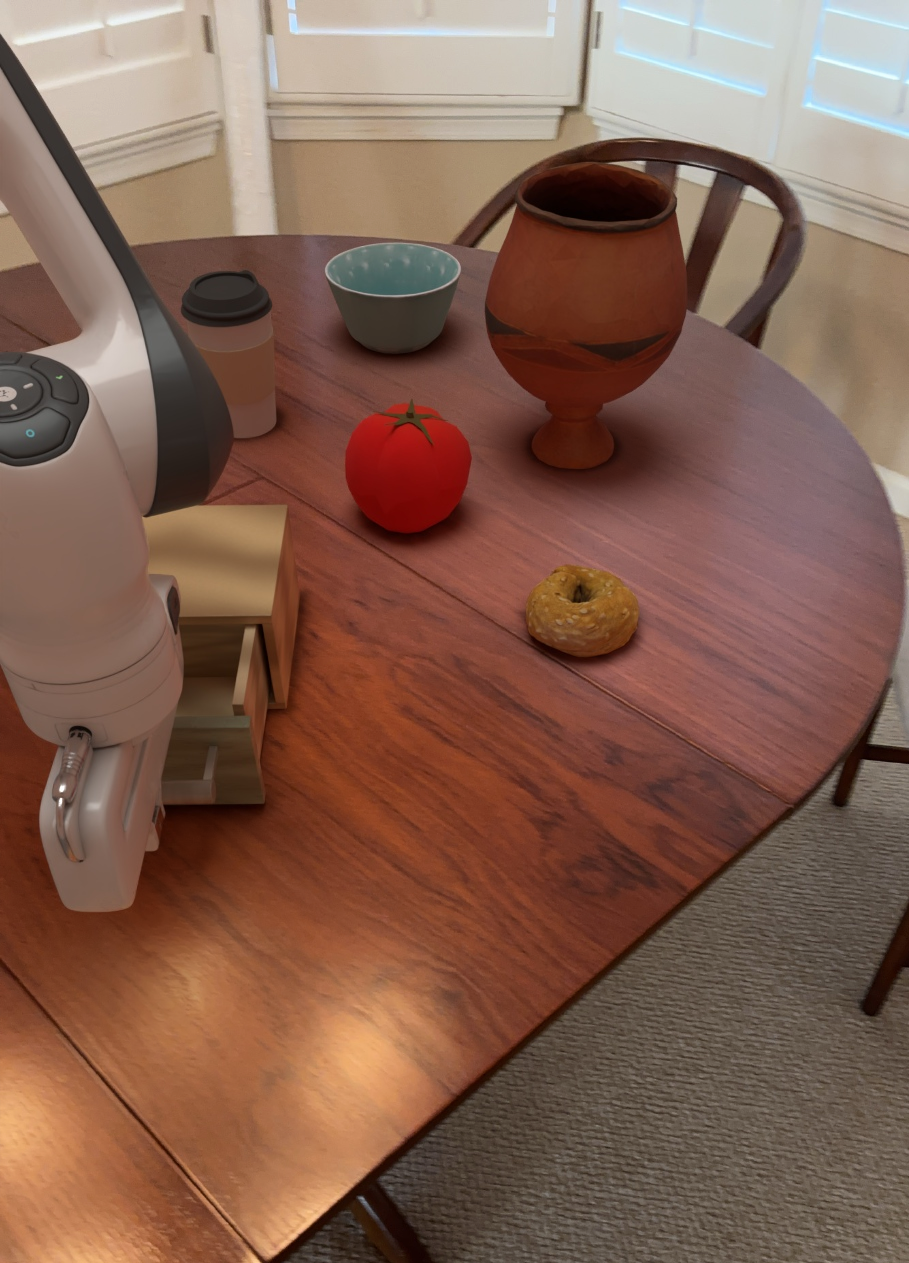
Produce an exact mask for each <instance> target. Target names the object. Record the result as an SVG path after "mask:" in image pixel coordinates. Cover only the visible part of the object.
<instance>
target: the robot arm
mask: <svg viewBox="0 0 909 1263" xmlns="http://www.w3.org/2000/svg"><path fill="white" fill-rule="evenodd" d="M0 201H1V203H2V204H3V206H4V207H5V208H6V210H7V211H8V212H9V215H10V216H11V217H12V219H13V221H14V222H15V224H16V226H17V228H18V229H19V231H20V232H21V234H22V235H23V237H24V239H25V241H26V242H27V244H28V245H29V247H30V249H31V250H32V252H33V253H34V255H35V257H36V258H37V260H38V262H39V263H40V265H41V266H42V268H43V270H44V271H45V273H46V274H47V277H48V278H49V280H50V281H51V283H52V285H53V286H54V288H55V289H56V291H57V293H58V294H59V296H60V298H61V299H62V301H63V303H64V304H65V306H66V307H67V309H68V311H69V312H70V314H71V315H72V317H73V318H74V320H75V322H76V323H77V325H78V327H79V329H80V330H81V332H80V334H79V335H78V336H76V337H75V338H73V339H70V340H68V341H64V342H60V343H58V344H52V345H49V346H45V347H42V348H38V349H34V350H30V351H27V352H22V351H0V667H1V669H2V672H3V674H4V677H5V680H6V681H7V684H8V686H9V689H10V691H11V694H12V696H13V699H14V701H15V703H16V706H17V708H18V711H19V713H20V715H21V718H22V720H23V722H24V724H25V725H26V726H27V728H28V729H29V730H30V731H31V732H32V733H34V735H36V736H37V737H39V738H41V739H42V740H44V741H47V742H49V743H51V744H54V745H57V749H56V752H55V756H54V758H53V762H52V766H51V768H50V772H49V774H48V778H47V781H46V784H45V787H44V790H43V793H42V797H41V801H40V806H39V814H38V822H39V823H38V824H39V833H40V839H41V843H42V848H43V851H44V855H45V858H46V861H47V865H48V867H49V871H50V874H51V877H52V880H53V882H54V885H55V888H56V891H57V893H58V896H59V898H60V900H61V902H62V904H63V906H64V907H65V908H66V909H68V910H70V911H73V912H78V913H79V912H81V913H82V912H83V913H109V912H110V913H111V912H117V911H122V910H127V909H129V908H130V907H132V905H133V904H134V901H135V899H136V895H137V889H138V885H139V880H140V876H141V872H142V866H143V863H144V858H145V853H146V852H155V851H157V850H158V849H159V846H160V841H161V835H162V831H163V825H164V821H165V817H166V810H165V807H164V806H165V805H163V803H162V800H161V797H162V796H161V777H162V773H163V768H164V764H165V759H166V755H167V750H168V746H169V741H170V737H171V732H172V728H173V723H174V719H175V714H176V710H177V705H178V701H179V698H180V695H181V692H182V685H183V676H184V658H183V650H182V643H181V636H180V630H179V624H178V620H179V614H180V605H181V596H180V591H179V587H178V583H177V580H176V578H175V576H173V575H164V574H148V564H149V543H148V538H147V534H146V530H145V526H144V522H143V519H142V516H143V517H145V518H147V517H151V516H155V515H159V514H164V513H168V512H172V511H176V510H180V509H184V508H189V507H193V506H202V505H203V503H204V502H205V501H206V500H207V499H208V498H209V496H210V495H211V493H212V492H213V490H214V489H215V487H216V486H217V483H218V482H219V481H220V478H221V476H222V475H223V472H224V471H225V468H226V465H227V464H228V461H229V458H230V456H231V453H232V449H233V446H234V440H235V438H234V433H233V425H232V420H231V417H230V413H229V410H228V407H227V404H226V401H225V398H224V396H223V394H222V391H221V389H220V387H219V385H218V383H217V381H216V379H215V377H214V375H213V373H212V371H211V370H210V368H209V366H208V364H207V363H206V361H205V360H204V358H203V356H202V355H201V353H200V352H199V350H198V349H197V348H196V346H195V345H194V343H193V342H192V340H191V339H190V338H189V336H188V333H187V332H186V331H185V329H184V328H183V327H182V325H181V324H180V322H179V321H178V320H177V319H176V317H175V315H174V314H173V313H172V312H171V311H170V309H169V308H168V306H167V305H166V303H165V302H164V300H163V299H162V297H161V296H160V295H159V294H160V293H158V291H157V290H156V288H155V286H154V285H153V283H152V282H151V280H150V278H149V276H148V274H147V273H146V271H145V269H144V268H143V266H142V264H141V263H140V261H139V260H138V258H137V256H136V253H134V251H133V249H132V247H131V246H130V244H129V242H128V240H127V239H126V237H125V236H124V234H123V232H122V231H121V230H122V229H121V228H120V227H119V225H118V223H117V222H116V220H115V219H114V216H113V215H112V214H111V211H110V209H109V208H108V206H107V205H106V203H105V201H104V200H103V198H102V196H101V194H100V192H99V190H98V189H97V188H96V186H95V184H94V182H93V181H92V179H91V177H90V175H89V174H88V172H87V170H86V168H85V167H84V165H83V163H82V161H81V160H80V158H79V156H78V155H77V152H76V151H75V150H74V148H73V146H72V145H71V142H70V141H69V139H68V138H67V136H66V135H65V133H64V131H63V129H62V127H61V125H60V124H59V123H58V120H57V119H56V117H55V116H54V114H53V112H52V111H51V109H50V108H49V106H48V105H47V103H46V101H45V99H44V98H43V96H42V95H41V92H40V91H39V89H38V88H37V86H36V84H35V83H34V81H33V80H32V78H31V76H30V75H29V73H28V72H27V70H26V69H25V66H23V64H22V62H21V61H20V59H19V58H18V56H17V55H16V54H15V52H14V51H13V49H12V47H11V46H10V44H9V43H8V41H7V40H6V39H5V38H4V36H3V34H2V33H0Z"/></svg>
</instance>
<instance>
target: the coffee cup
mask: <svg viewBox="0 0 909 1263" xmlns="http://www.w3.org/2000/svg"><path fill="white" fill-rule="evenodd" d="M181 303H182V304H181V306H180V314H181V316H182V317H183V318H184V321H185V324H186V327H187V328H186V329H187V335H188V336H189V338H190V339H191V340H192V342H193V343H194V345H195V346H196V348H197V349H198V350H199V352H200V353H201V355H202V356H203V358H204V360H205V361H206V363H207V364H208V366H209V368H210V370H211V371H212V373H213V375H214V377H215V379H216V381H217V383H218V385H219V387H220V389H221V391H222V394H223V396H224V398H225V401H226V404H227V407H228V410H229V413H230V417H231V420H232V425H233V433H234V439H250V438H256V437H260V436H263V435H265V434H266V433H267V434H268V432H270V431H272V430H273V428H274V427H275V426H276V424H277V404H276V387H277V386H276V384H277V383H276V361H275V357H276V356H275V338H274V336H275V335H274V327H273V325H272V309H273V300H272V299H271V297H270V293H269V291H268V289H266V288H265V287H264V286H263V285H262V284H260V283H259V281H258V279H257V277H256V275H255V274H254V273H253V272H252V271H250V270H249V269H243V270H240V271H235V270H218V271H212V272H207V273H204V274H202V275H199V276H197V277H196V278H194V279H192V281H191V282H190V284H189V287H188V288H187V289H186V291H185V292H184V293H183V294H182V297H181Z"/></svg>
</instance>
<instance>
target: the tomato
mask: <svg viewBox="0 0 909 1263" xmlns="http://www.w3.org/2000/svg"><path fill="white" fill-rule="evenodd" d="M413 399H414V398H413V397H411V399H410V401H409V403H408V402H407V403H406V402H404V403H397V404H396V403H395V404H392V405H391V406H390V407H389V408H387V409H386V410H385V411H383V412H382V411H376V410H372V412H373V414H371V415H369V416H367V417H365V418H364V419H362V420H361V421H360V422H359V423H358V424H357V426H356V427H355V429H354V430H353V432H352V433H351V435H350V438H349V440H348V443H347V446H346V449H345V452H344V453H345V456H344V457H345V458H344V472H345V473H344V474H345V480H346V485H347V488H348V490H349V493H350V494H351V496H352V498H353V500H354V502H355V504H356V505H357V506H358V507H359V509H360V510H361V512H363V513H364V515H365V516H366V517H367V519H369V520H370V521H372V522H374V524H377V525H379V526H380V527H382V528H383V529H385V530H386V531H389V532H395V533H400V534H413V533H421V532H423V531H425V530H428V529H429V528H431V527H433V526H435V525H437V524H438V523H441V522H443V521H444V520H446V519H447V518H448V517H449V516H450V514H451V513H452V512H453V511H454V510H455V508H456V507H457V506H458V505H459V503H460V502H461V500H462V497H463V495H464V492H465V490H466V488H467V485H468V483H469V477H470V471H471V465H472V460H473V457H472V452H471V447H470V442H469V440H468V439H467V438H466V436H465V435H464V434H463V433H462V431H461V430H460V429H459V427H458V426H457V425H455V424H452V423H451V422H449V420H448V419H444V418H443V416H442V415H441V414H440V412H438V411H437V410H436V409H434V408H432V407H430V406H424V405H418V404H415V403H414V400H413Z"/></svg>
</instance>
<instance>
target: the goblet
mask: <svg viewBox="0 0 909 1263" xmlns="http://www.w3.org/2000/svg"><path fill="white" fill-rule="evenodd" d="M514 202H515V204H516V205H515V208H514V209H515V210H514V212H513V216H512V218H511V223H510V225H509V227H508V230H507V233H506V236H505V239H504V241H503V242H502V245H501V247H500V249H499V251H498V254H497V256H496V259H495V263H494V265H493V268H492V271H491V274H490V277H489V281H488V284H487V290H486V295H485V300H484V320H485V328H486V333H487V337H488V340H489V343H490V346H491V349H492V352H494V354H495V356H496V357H497V360H498V361H499V362H500V364H501V366H502V367H503V369H504V370H505V371H506V373H507V374H508V375H509V376H510V377H511V378H512V379H513V381H515V383H516V384H518V385H519V386H520V387H521V388H522V389H523V390H525V391H526V392H527V393H528V394H529V395H531V396H533V397H535V398H536V399H538V400H541V401H542V402H545V403H544V407H545V409H546V411H548V412H549V414H551V417H550V418H549V419H548V420H547V421H545V423H544V424H542V426H541V427H540V428H539V429H538V430H537V432H536V433H535V435H534V436H533V438H532V440H531V450H532V452H533V454H534V455H535V456H536V458H537V459H538V460H539V461H540V462H543V463H545V464H546V465H548V466H550V467H551V466H552V467H555V468H561V469H572V470H586V469H591V468H595V467H598V466H600V465H601V464H604V463H606V462H607V461H608V460H609V459H610V458H611V456H613V453H614V449H615V442H614V438H613V435H612V434H611V432H610V431H609V429H608V428H607V426H606V425H605V424H604V423H603V422H602V420H600V419H599V417H598V416H597V415H598V414H599V413H601V411H602V410H603V409H604V404H608V403H611V402H614V401H616V400H618V399H620V398H622V397H624V396H626V395H628V394H631V393H632V392H633V391H635V390H637V389H638V388H639V387H642V386H643V384H645V383H646V382H647V381H649V379H650V378H651V377H652V376H653V375H654V374H655V373H656V372H657V371H658V370H659V369H660V368H661V367H662V365H663V364H664V363H665V362H666V361H667V360H668V358H669V357H670V355H671V353H672V351H673V350H674V348H675V346H676V344H677V342H678V340H679V338H680V336H681V334H682V331H683V326H684V323H685V320H686V315H687V310H688V275H687V274H688V273H687V267H686V260H685V254H684V248H683V242H682V238H681V237H682V236H681V233H680V227H679V226H680V225H679V221H678V215H677V207H678V197H677V196H676V194H675V192H674V191H673V190H672V188H670V186H669V185H668V184H667V183H665V182H664V181H663V180H661V179H660V178H659V177H657V176H654V175H651V174H649V173H647V172H644V171H641V170H639V169H636V168H632V167H628V166H623V165H620V164H616V163H615V164H614V163H609V162H608V163H607V162H598V161H583V162H582V161H581V162H576V163H570V164H568V163H567V164H563V165H558V166H554V167H549V168H547V169H544V170H541V171H538V172H535V173H533V174H530V175H529V176H527V177H525V179H523V181H521V183H519V184H518V186H517V188H516V191H515V194H514Z"/></svg>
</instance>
